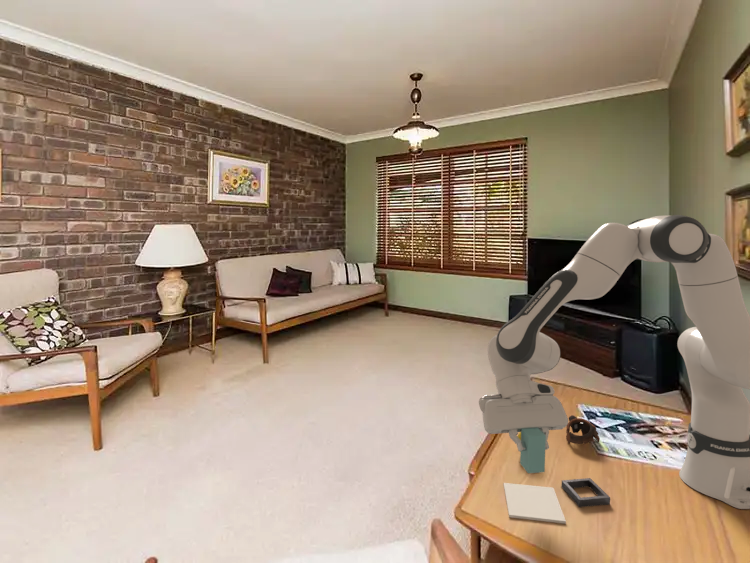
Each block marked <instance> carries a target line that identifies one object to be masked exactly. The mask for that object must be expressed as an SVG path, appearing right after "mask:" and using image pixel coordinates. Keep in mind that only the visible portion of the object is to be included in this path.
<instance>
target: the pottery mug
mask: <svg viewBox="0 0 750 563" xmlns="http://www.w3.org/2000/svg"><path fill="white" fill-rule="evenodd" d="M570 429H571V430H570ZM580 431H581V434H582V435H576V434H578V433H579V432H580ZM565 432H566V436H565V439H566V442H567V443H568V444H570V443H571V444H577V445H583V444H588V443H591V442H592V443H595V442H596V441H597V443H598V442H599V443H600V440H601V439H600V436H599V432H598V430H597V426H595V425H594V424H593V423H591V422H590V421H589V420H587V419H585V418H581V417H577V416H575V415H573V414H571V415H569V417H568V424H567V426H566V431H565ZM595 440H596V441H595Z"/></svg>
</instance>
